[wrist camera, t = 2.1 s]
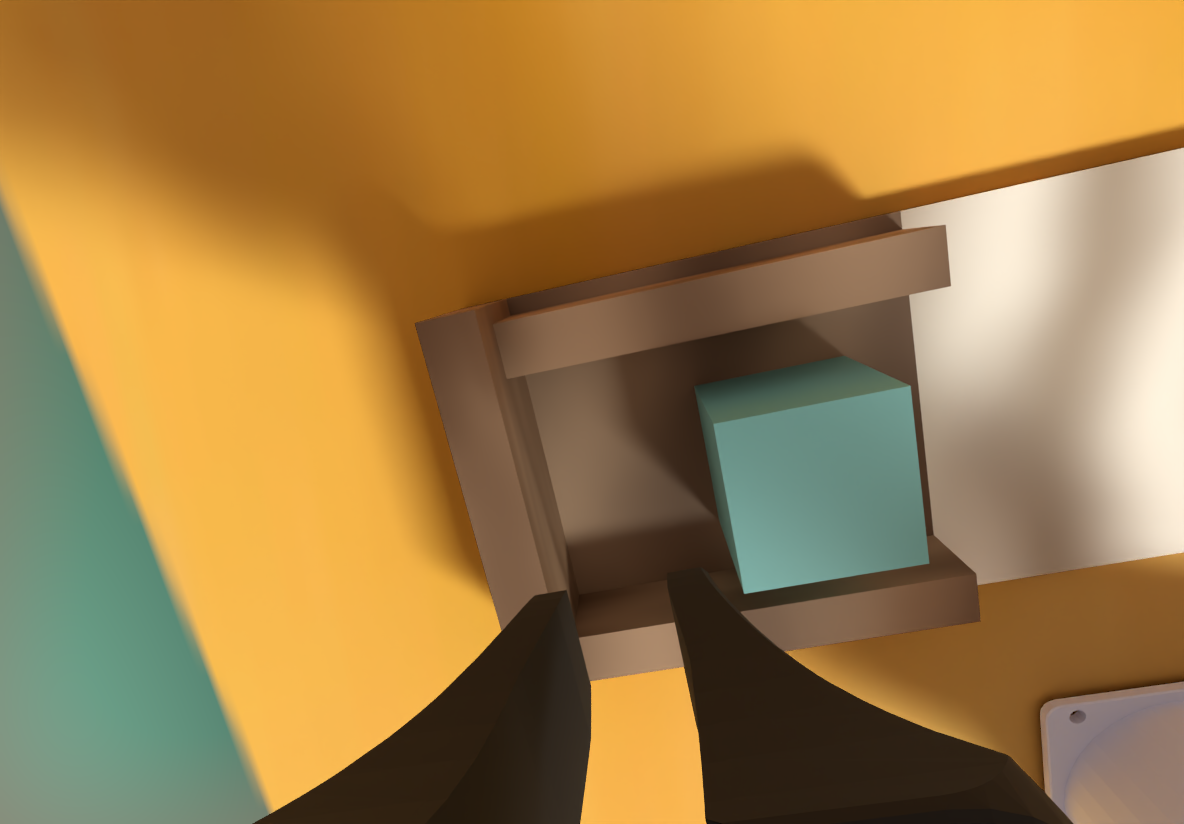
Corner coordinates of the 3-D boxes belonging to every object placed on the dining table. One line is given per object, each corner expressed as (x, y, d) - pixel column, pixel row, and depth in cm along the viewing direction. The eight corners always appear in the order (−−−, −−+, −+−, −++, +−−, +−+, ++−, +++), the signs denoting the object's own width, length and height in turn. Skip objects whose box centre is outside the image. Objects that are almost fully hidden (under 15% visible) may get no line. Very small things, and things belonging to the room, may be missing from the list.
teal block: (844, 355, 19) (910, 385, 14) (862, 495, 20) (929, 563, 15) (694, 386, 19) (713, 423, 15) (719, 520, 20) (744, 593, 16)
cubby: (1228, 137, 17) (1439, 95, 13) (1224, 534, 20) (1396, 614, 15) (463, 308, 20) (414, 323, 15) (551, 642, 22) (532, 739, 18)
